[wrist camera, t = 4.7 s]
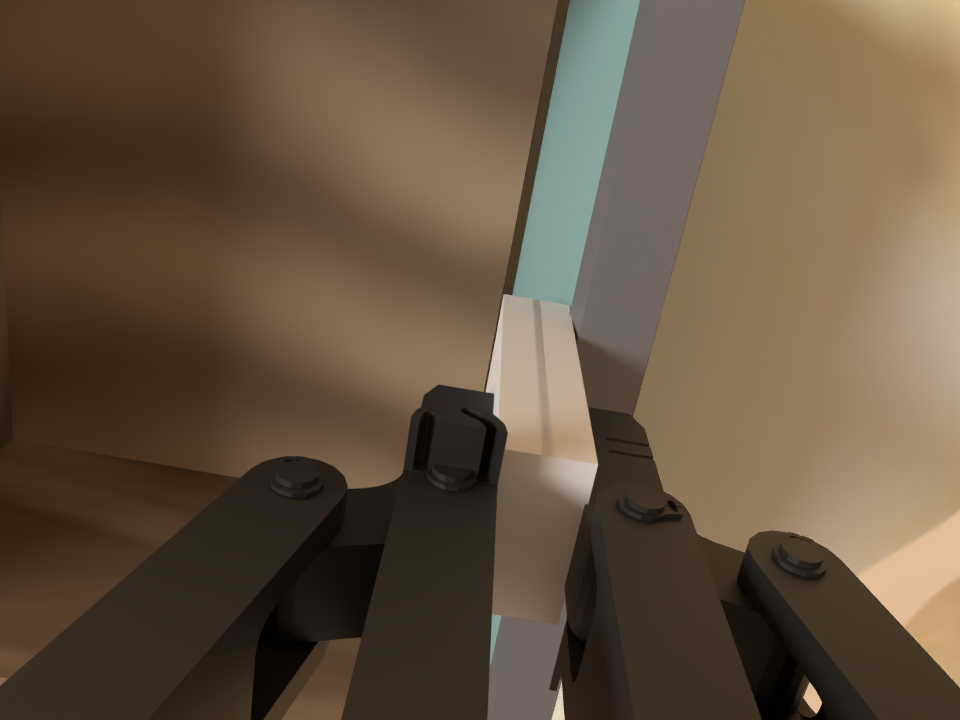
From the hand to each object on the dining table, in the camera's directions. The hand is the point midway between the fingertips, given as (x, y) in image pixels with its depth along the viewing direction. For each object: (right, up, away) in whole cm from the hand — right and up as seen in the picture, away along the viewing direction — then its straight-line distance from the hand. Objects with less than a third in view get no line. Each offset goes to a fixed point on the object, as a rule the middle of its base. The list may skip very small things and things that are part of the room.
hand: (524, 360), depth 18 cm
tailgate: (+1, +3, +8) cm, 9 cm away
